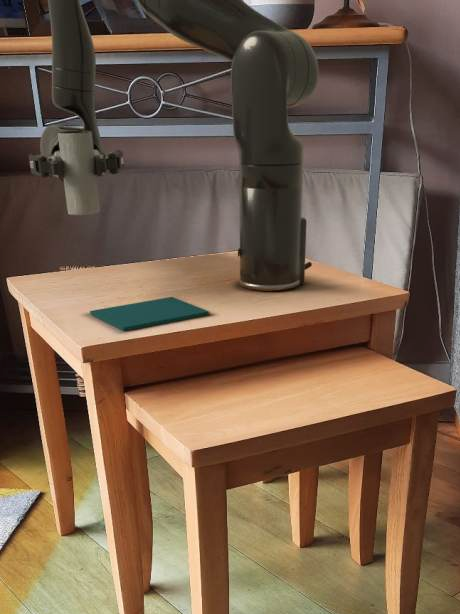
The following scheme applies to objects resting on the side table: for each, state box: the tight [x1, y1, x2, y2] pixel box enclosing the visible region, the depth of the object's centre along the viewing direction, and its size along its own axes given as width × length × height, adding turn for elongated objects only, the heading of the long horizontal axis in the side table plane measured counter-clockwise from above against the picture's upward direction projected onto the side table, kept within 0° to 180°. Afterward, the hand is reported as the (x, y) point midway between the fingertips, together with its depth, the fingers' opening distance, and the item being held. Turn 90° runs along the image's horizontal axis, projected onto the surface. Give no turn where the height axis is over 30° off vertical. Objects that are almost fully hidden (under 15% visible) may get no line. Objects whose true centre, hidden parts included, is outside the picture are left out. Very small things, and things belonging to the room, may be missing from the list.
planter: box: [58, 131, 101, 216], centre depth 103 cm, size 4×4×10 cm
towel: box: [89, 296, 210, 332], centre depth 102 cm, size 13×10×1 cm
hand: (79, 168), depth 100 cm, fingers closed on planter, 4 cm apart
